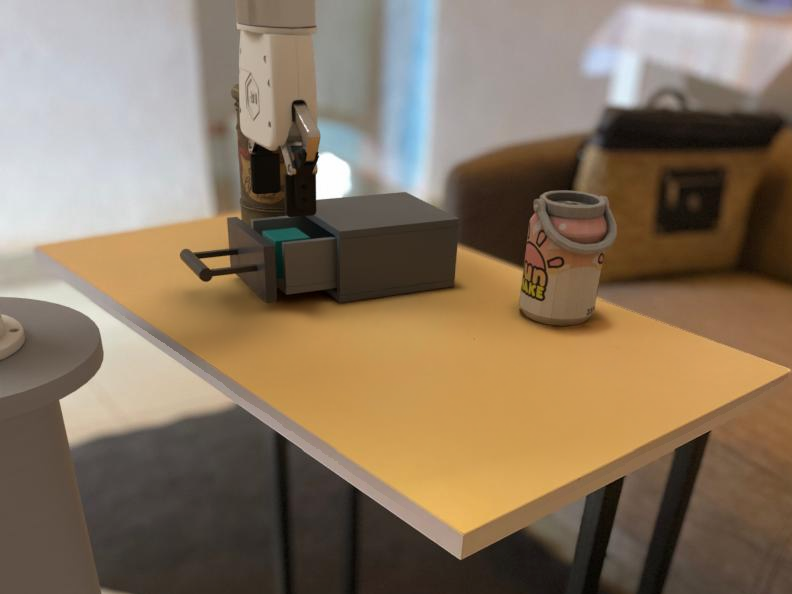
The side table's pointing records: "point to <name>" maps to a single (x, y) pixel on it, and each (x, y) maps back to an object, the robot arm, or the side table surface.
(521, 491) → the side table surface
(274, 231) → the block
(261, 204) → the container
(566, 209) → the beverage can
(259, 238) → the tray
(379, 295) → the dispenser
